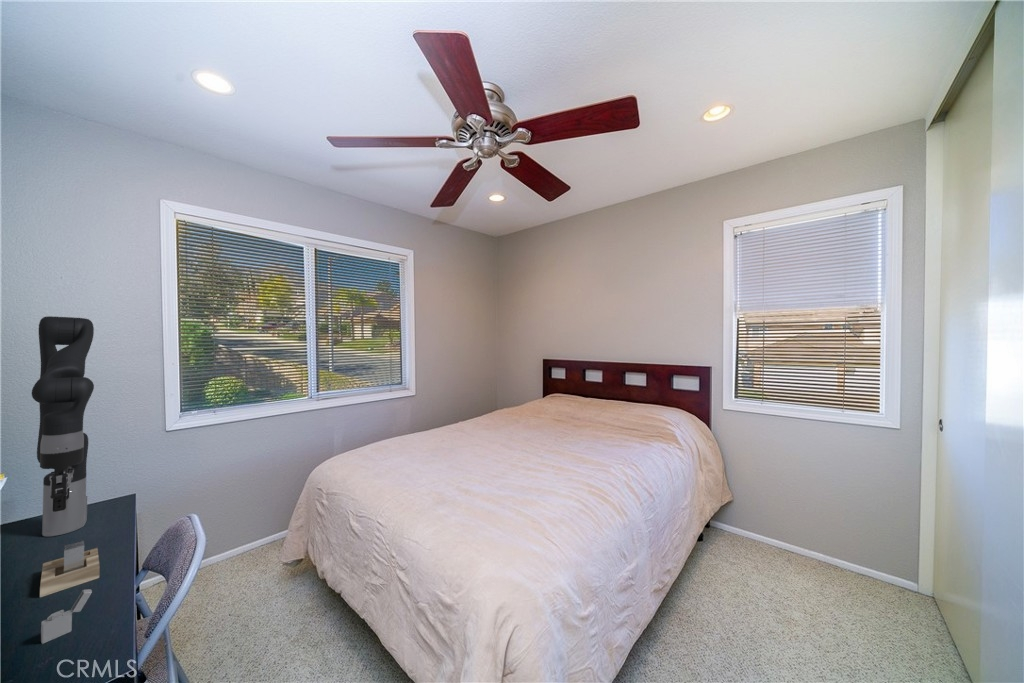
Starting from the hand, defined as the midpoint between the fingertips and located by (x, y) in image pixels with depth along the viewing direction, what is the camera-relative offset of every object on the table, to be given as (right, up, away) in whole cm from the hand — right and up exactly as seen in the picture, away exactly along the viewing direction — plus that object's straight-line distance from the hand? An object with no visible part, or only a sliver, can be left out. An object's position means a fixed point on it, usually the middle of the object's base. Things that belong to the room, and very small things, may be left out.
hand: (61, 505), depth 98 cm
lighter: (+24, -22, -17) cm, 36 cm away
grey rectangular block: (+3, -21, 0) cm, 21 cm away
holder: (+2, -21, +1) cm, 21 cm away
